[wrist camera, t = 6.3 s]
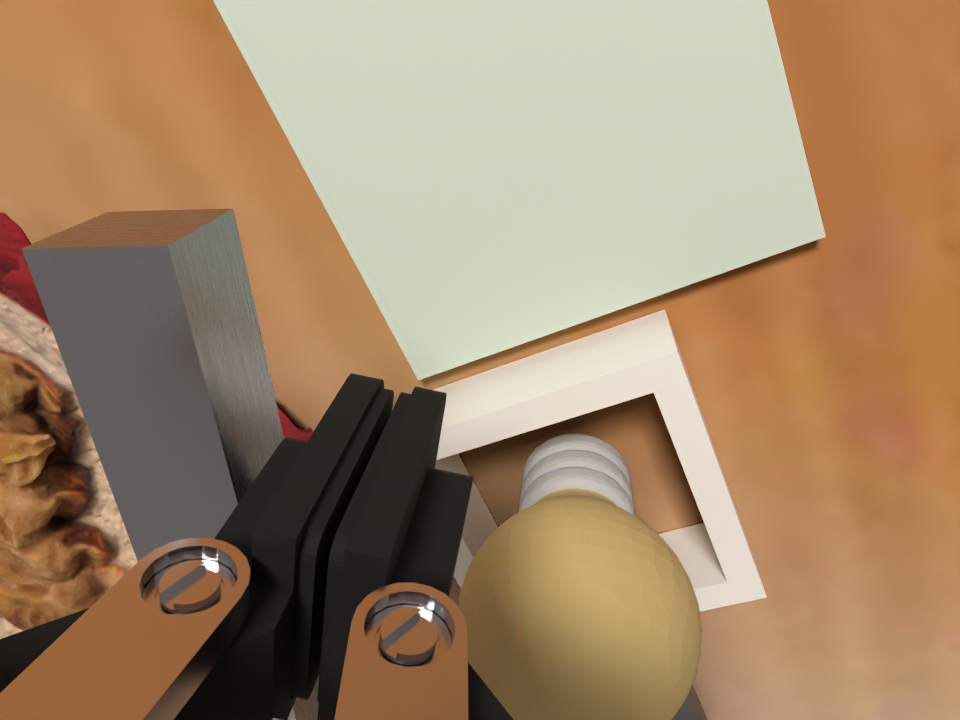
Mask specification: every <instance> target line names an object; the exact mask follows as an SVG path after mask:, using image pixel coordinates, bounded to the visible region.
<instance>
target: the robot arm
mask: <svg viewBox="0 0 960 720" xmlns="http://www.w3.org/2000/svg"><path fill="white" fill-rule="evenodd" d="M446 396H447V394H446V393H444V392H439V391H434V390H429V389H425V388H420V387H415V388H414V390H413V392H412V394H407V393H403V392H401V394H400V395H399V398H398V400H397V402H396V404H395V406H394V408H393V410H392V406H393V397H394V392H393V390H388V389H384V382H383V380H381V379H376V378H371V377H367V376H362V375H357V374H350V375H349V376H348V378H347V380H346V381H345V383H344V384H343V386H342V388H341V389H340V391H339V392H338V394H337V395H336V397H335V399H334V400H333V402H332V403H331V405H330V407H329V408H328V410H327V411H326V413H325V415H324V416H323V418H322V419H321V421H320V422H319V424H318V426H317V427H316V429H315V430H314V432H313V434H312V435H311V437H310V438H309V440H308V441H303V440H298V439H293V438H289V437H288V438H285V439H284V440H283V441H282V442H281V443H280V444H279V446H278V447H277V448H276V450H275V451H274V453H273V454H272V456H271V457H270V459H269V460H268V461H267V463H266V464H265V466H264V467H263V469H262V470H261V472H260V473H259V474H258V476H257V477H256V479H255V480H254V482H253V483H252V485H251V486H250V487H249V489H248V490H247V492H246V493H245V495H244V496H243V498H242V499H241V501H240V502H239V503H238V505H237V506H236V508H235V509H234V511H233V512H232V514H231V515H230V516H229V518H228V519H227V521H226V522H225V524H224V525H223V527H222V528H221V529H220V531H219V532H218V534H217V535H216V537H215V538H214V539H212V538H187V539H183V540H178V541H174V542H170V543H168V544H166V545H164V546H161V547H159V548H157V549H155V550H153V551H152V552H150V553H149V554H148V555H146V556H145V557H144V558H142V559H141V560H140V561H139V562H138V563H137V564H135V565H134V566H133V567H132V568H131V569H130V570H129V571H128V572H127V573H126V574H125V575H124V576H123V577H122V578H121V579H120V580H119V581H118V582H117V583H115V584H114V585H113V586H112V587H111V588H110V589H109V590H108V591H107V592H106V593H105V594H104V595H103V596H102V597H101V598H100V599H99V600H98V601H97V602H95V603H94V604H93V605H92V606H91V607H90V608H88V609H85V610H82V611H79V612H76V613H73V614H70V615H67V616H65V617H62V618H59V619H56V620H53V621H50V622H47V623H45V624H42V625H39V626H36V627H33V628H30V629H27V630H25V631H22V632H19V633H16V634H13V635H10V636H7V637H5V638H2V639H0V720H272V719H273V718H276V719H280V720H287V719H288V717H289V715H290V712H291V710H292V707H293V705H294V702H295V700H296V698H301V699H305V700H308V699H309V697H310V696H311V694H312V691H313V689H314V686H315V684H316V681H317V679H318V676H319V684H318V697H317V701H318V702H319V705H318V717H317V720H513V718H512V717H511V716H510V714H509V713H508V712H507V711H506V709H505V708H504V707H503V706H502V704H501V703H500V702H499V701H498V699H497V698H496V697H495V696H494V694H493V693H492V692H491V690H490V689H489V688H488V687H487V685H486V684H485V683H484V682H483V680H482V679H481V678H480V677H479V675H478V674H477V673H476V672H475V670H474V669H473V668H472V666H471V665H470V664H469V663H468V632H467V627H466V622H465V617H464V616H463V614H462V612H461V610H460V609H459V607H458V605H457V604H456V603H455V602H454V601H453V600H452V599H450V598H449V594H450V589H451V584H452V580H453V575H454V571H455V566H456V561H457V557H458V552H459V547H460V543H461V538H462V533H463V528H464V523H465V518H466V513H467V508H468V503H469V498H470V493H471V488H472V483H473V478H474V477H473V476H468V475H463V474H459V473H454V472H449V471H445V470H440V469H435V464H436V458H437V452H438V446H439V440H440V434H441V428H442V422H443V416H444V410H445V404H446Z"/></svg>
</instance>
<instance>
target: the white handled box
mask: <svg viewBox="0 0 960 720" xmlns="http://www.w3.org/2000/svg"><path fill="white" fill-rule="evenodd" d="M433 390H434V391H439V392H444V393H446V394H447V396H446V404H445V410H444V416H443V422H442V428H441V434H440V440H439V446H438V452H437V458H436V464H435V469H440V470H445V471H449V472H454V473H459V474H463V475H468V476H470V474H469V473H468V471H467V469H466V467H465V465H464V463H463V462H462V460H461V458H460V456H459V454H458V453H461V452H464V451H468V450H471V449H474V448H477V447H481V446H484V445H487V444H490V443H493V442H497V441H500V440H503V439H506V438H509V437H513V436H516V435H519V434H522V433H525V432H529V431H532V430H535V429H538V428H542V427H545V426H548V425H551V424H554V423H558V422H561V421H564V420H567V419H570V418H574V417H577V416H580V415H583V414H586V413H590V412H593V411H596V410H599V409H603V408H606V407H609V406H612V405H615V404H619V403H622V402H625V401H628V400H631V399H635V398H638V397H641V396H644V395H647V394H651V393H654V395H655V398H656V400H657V403H658V405H659V408H660V410H661V413H662V416H663V418H664V421H665V423H666V426H667V428H668V431H669V434H670V436H671V439H672V441H673V444H674V447H675V449H676V452H677V454H678V457H679V459H680V462H681V465H682V467H683V470H684V472H685V475H686V477H687V480H688V483H689V485H690V488H691V490H692V493H693V495H694V498H695V501H696V503H697V506H698V508H699V511H700V513H701V516H702V519H703V521H704V523H701V524H697V525H693V526H689V527H685V528H681V529H677V530H673V531H669V532H664V533H660V534H658V535H659V536H660V537H662V538H663V539H664V541H665V542H666V543H667V544H668V545H669V547H670V548H671V549H672V550H673V552H674V553H675V554H676V555H677V557H678V559H679V561H680V562H681V564H682V566H683V568H684V569H685V571H686V573H687V575H688V576H689V578H690V581H691V584H692V586H693V589H694V592H695V595H696V598H697V601H698V604H699V611H705V610H710V609H714V608H719V607H724V606H729V605H733V604H738V603H743V602H747V601H752V600H757V599H762V598H766V597H767V596H766V593H765V590H764V587H763V584H762V581H761V578H760V575H759V572H758V569H757V566H756V563H755V560H754V557H753V554H752V551H751V548H750V545H749V542H748V539H747V536H746V533H745V530H744V527H743V524H742V522H741V519H740V516H739V513H738V511H737V508H736V505H735V502H734V500H733V497H732V494H731V491H730V488H729V486H728V483H727V480H726V477H725V475H724V472H723V469H722V466H721V464H720V461H719V458H718V455H717V452H716V450H715V447H714V444H713V441H712V439H711V436H710V433H709V430H708V427H707V425H706V422H705V419H704V416H703V414H702V411H701V408H700V405H699V403H698V400H697V397H696V394H695V391H694V389H693V386H692V383H691V380H690V378H689V375H688V372H687V369H686V367H685V364H684V361H683V358H682V355H681V353H680V350H679V347H678V344H677V342H676V339H675V336H674V333H673V331H672V328H671V325H670V322H669V319H668V317H667V314H666V311H665V309H664V310H661V311H659V312H656V313H653V314H650V315H647V316H644V317H641V318H638V319H635V320H633V321H630V322H627V323H624V324H621V325H618V326H615V327H612V328H609V329H607V330H604V331H601V332H598V333H595V334H592V335H589V336H586V337H583V338H581V339H578V340H575V341H572V342H569V343H566V344H563V345H560V346H557V347H554V348H552V349H549V350H546V351H543V352H540V353H537V354H534V355H531V356H528V357H526V358H523V359H520V360H517V361H514V362H511V363H508V364H505V365H502V366H500V367H497V368H494V369H491V370H488V371H485V372H482V373H479V374H476V375H474V376H471V377H468V378H465V379H462V380H459V381H456V382H453V383H450V384H448V385H445V386H442V387H439V388H436V389H433ZM497 527H498V526H497V525H496V523H495V521H494V519H493V517H492V515H491V513H490V512H489V510H488V508H487V506H486V504H485V502H484V500H483V499H482V497H481V495H480V493H479V491H478V489H477V487H476V486H475V484H474V482H473V483H472V488H471V493H470V498H469V503H468V508H467V513H466V518H465V523H464V528H463V533H462V538H461V543H460V547H459V552H458V557H457V561H456V566H455V571H454V575H453V576H454V578H455V579H456V581H457V583H458V584H459V586H460V588H462V585H463V581H464V578H465V575H466V573H467V570H468V568H469V565H470V564H471V562H472V560H473V558H474V556H475V555H476V553H477V552H478V550H479V549H480V547H481V546H482V545H483V543H484V542H485V541H486V539H487V538H488V537H489V536H490V535H491V534H492V533H493V532H494V531H495V530H496V528H497ZM671 720H708V719H707V717H706V714H705V712H704V710H703V708H702V705H701V703H700V701H699V699H698V697H697V694H696V692H695V690H694V688H693V685H692V686H691V689H690V691H689V693H688V695H687V697H686V700H685V701H684V703H683V704H682V706H681V707H680V708H679V710H678V711H677V713H676V714H675V716H674V717H673V718H672V719H671Z"/></svg>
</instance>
